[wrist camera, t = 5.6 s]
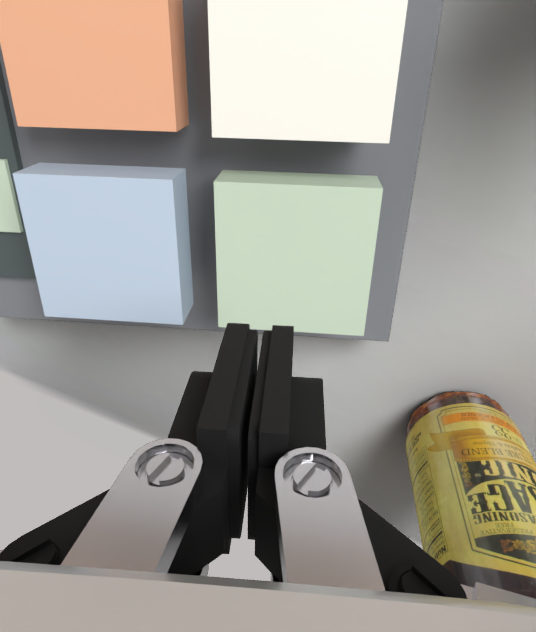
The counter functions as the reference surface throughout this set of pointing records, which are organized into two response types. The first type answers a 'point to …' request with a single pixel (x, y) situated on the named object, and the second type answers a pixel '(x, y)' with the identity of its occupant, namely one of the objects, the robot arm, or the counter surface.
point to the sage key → (295, 249)
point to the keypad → (226, 154)
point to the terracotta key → (96, 63)
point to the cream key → (305, 68)
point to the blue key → (109, 240)
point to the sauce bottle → (474, 491)
